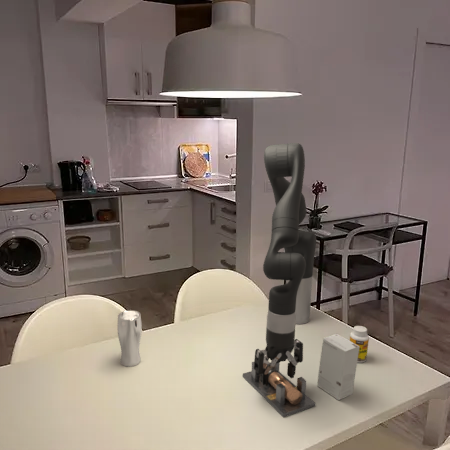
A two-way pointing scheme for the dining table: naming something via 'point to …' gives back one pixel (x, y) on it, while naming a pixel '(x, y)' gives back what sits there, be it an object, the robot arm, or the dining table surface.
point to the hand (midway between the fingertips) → (277, 380)
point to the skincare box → (338, 366)
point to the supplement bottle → (360, 341)
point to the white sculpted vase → (129, 337)
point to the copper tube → (290, 390)
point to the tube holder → (279, 393)
